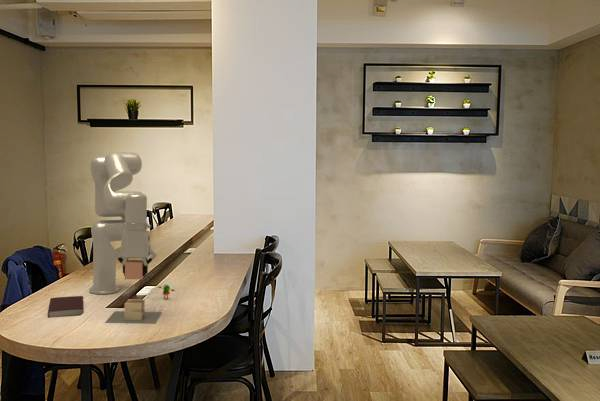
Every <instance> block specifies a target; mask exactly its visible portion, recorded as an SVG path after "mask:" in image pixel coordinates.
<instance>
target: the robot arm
mask: <svg viewBox="0 0 600 401" xmlns="http://www.w3.org/2000/svg"><path fill="white" fill-rule="evenodd" d="M142 162H143V161H142V158H141V157H140V154H138V153H136V152H123V151H122V152H120V151H115V152H110V153H108V154H106V155H105V156H102V155H101V156H96V157H93V158H92V159H91V160H90V165H89V166H90V174H91V177H92V180H93V183H94V211H95V214H96V216H98V217H100V218H115V217H116V218H117V217H118V218H121V219H101V220H97V221H95V222H93V223H92V224H91V228H90V230H91V231H90V232H91V233H90V234H91V238H92V240H91V241H92V248H93V249H92V254H93V256H92V257H93V259H92V260H93V262H92V263H93V264H92V265H93V266H92V286H91V287H90V288H89V289H88V291H89V293H91V294H94V295H108V294H109V295H110V294H115V293H118V292H120V287H119V286H118V285H117V280H116V279H117V261H118V262H119V263H121V265H122V274H123V276H124V277H125V263H126V262H127V261H128V260H130V259H141V260H142V261H143V263H144V266H143V276H144V277H145V276H147V274H148V271H149V270H148V269H149V266H148V265H149V264H150V263H151V262H152V261H153V260H154V259H156V258H157V256H158V255H157V253H155V252H154V250H153V249H152V248H151V237H150V236H151V235H150V231H149V230H148V229H151V224H148V221H147V220H148V219H147V217H148V216H147V215H148V214H147V212H148V197H147V195H146V194H144V193H143V192H141V191H121V190H123V189H125V188H127V187H129V186H130V185H131V183H132V182H133V176H134V175H137V174H139V173H140V172H141V170H142V167H143V163H142ZM112 242H120V248H119V249H118V250H116V248H115V247H114V246H113V245H112ZM149 256H150V257H149Z"/></svg>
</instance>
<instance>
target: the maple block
mask: <svg viewBox="0 0 600 401" xmlns="http://www.w3.org/2000/svg"><path fill="white" fill-rule="evenodd" d="M145 301H146V300H145V299H141V298H139V299H138V298H136V299H135V298H128V299H127V300H126V301H125V302H124V310H123V311H124V320H141V319H142V318H143V316H144V312H146V311H145V307H146V306H145V303H146V302H145Z"/></svg>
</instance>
